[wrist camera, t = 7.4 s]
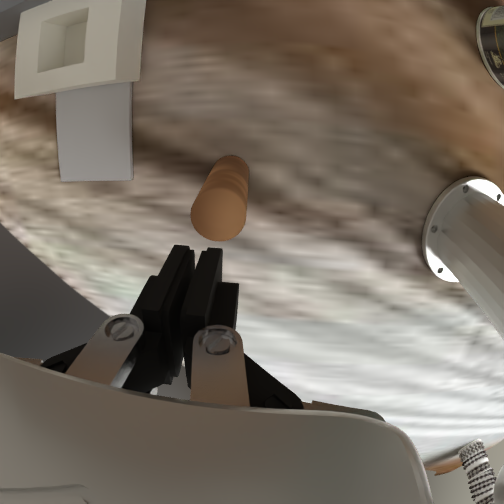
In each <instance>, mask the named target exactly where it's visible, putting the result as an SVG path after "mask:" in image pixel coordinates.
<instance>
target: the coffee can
mask: <svg viewBox="0 0 504 504" xmlns="http://www.w3.org/2000/svg"><path fill="white" fill-rule="evenodd" d="M476 37H477V44H478V48H479V51H480V54H481V57H482V60H483V62H484V64H485V66H486V68H487V70H488V72H489V73H490V75H491V76H492V77H493V79H494V80H495V81H496V82H497V83H498V84H499V85H500V86H501V87H502V88H503V89H504V6H498V7H488V8H486V9H484V10H483V11H482V12H481V13H480V15H479V17H478V20H477V25H476Z"/></svg>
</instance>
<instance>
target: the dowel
mask: <svg viewBox="0 0 504 504" xmlns="http://www.w3.org/2000/svg"><path fill="white" fill-rule="evenodd" d="M248 182H249V169H248V166H247V164H246V163H245V162H244V161H243V160H242V159H241V158H239V157H237V156H224V157H222V158H220V159H219V160H218V161H217V162H216V163H215V165H214V167H213V168H212V170H211V172H210V174H209V175H208V177H207V179H206V181H205V183H204V185H203V186H202V188H201V190H200V192H199V194H198V196H197V198H196V199H195V201H194V203H193V205H192V208H191V221H192V224H193V226H194V228H195V229H196V231H197V232H198V233H199V234H200V235H202V236H203V237H205V238H207V239H209V240H212V241H226V240H229V239H232V238H234V237H235V236H237V235H238V234H239V233H240V232H241V230H242V229H243V227H244V225H245V221H246V210H247V196H248Z"/></svg>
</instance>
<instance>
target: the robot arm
mask: <svg viewBox="0 0 504 504" xmlns="http://www.w3.org/2000/svg"><path fill="white" fill-rule="evenodd" d="M422 250H423V256H424V259H425V261H426V264H427V265H428V266H429V268H430V269H431V271H432V272H433V273H434V274H435V275H436V276H437V277H439V278H441V279H442V280H445V281H449V282H458V281H459V282H460V284H461V285H462V286H463V287H464V288H465V290H466V291H467V292H468V293H469V295H470V296H471V297H472V298H473V300H474V301H475V302H476V303H477V305H478V306H479V307H480V309H481V310H482V311H483V313H484V314H485V315H486V316H487V318H488V319H489V320H490V322H491V323H492V325H493V326H494V327H495V329H496V330H497V331H498V333H499V334H500V336H501V337H502V339H503V340H504V195H503V193H502V192H501V190H500V189H499V187H498V186H496V185H495V184H494V183H493V182H491V181H489V180H487V179H485V178H482V177H479V176H469V177H466V178H462V179H460V180H458V181H456V182H454V183H453V184H451V185H450V186H449V187H448V188H446V189H445V190H444V191H443V193H442V194H441V195H440V196H439V197H438V198H437V200H436V201H435V203H434V204H433V206H432V208H431V210H430V212H429V214H428V216H427V219H426V222H425V225H424V229H423V235H422ZM222 256H223V250H222V248H209V247H208V248H207V251H202V252H201V255H200V258H199V261H198V263H197V266H196V269H195V254H194V250H190V248H189V246H184V245H174V247H173V248H172V250H171V252H170V254H169V256H168V258H167V260H166V261H165V263H164V265H163V267H162V269H161V271H160V273H159V275H158V276H153V275H152V276H150V277H149V279H148V281H147V283H146V284H145V286H144V288H143V290H142V292H141V294H140V295H139V297H138V299H137V301H136V303H135V305H134V307H133V309H132V311H131V312H130V314H118V315H115V316H112V317H110V318H108V319H107V320H106V321H105V322H104V323H103V324H102V325H101V326H100V328H99V329H98V330H97V331H96V333H95V334H94V335H93V337H92V338H91V340H90V341H89V342H88V343H86V344H83V345H81V346H78V347H76V348H74V349H71V350H68V351H66V352H63V353H61V354H58V355H56V356H53V357H51V358H49V359H47V360H46V361H45V362H44V363H43V361H42V360H41V359H28V358H16V357H11V356H8V355H5V354H2V353H0V504H434V502H433V499H432V494H431V490H430V485H429V481H428V478H427V475H426V472H425V469H424V466H423V463H422V460H421V458H420V455H419V453H418V451H417V449H416V447H415V445H414V444H413V442H412V440H411V439H410V438H409V437H408V436H407V435H406V433H404V432H403V431H402V430H400V429H399V428H397V427H396V426H393V425H391V424H389V423H386V422H385V420H384V419H383V417H382V416H380V415H379V414H377V413H376V412H372V411H369V410H363V409H356V408H350V407H344V406H339V405H333V404H328V403H323V402H318V401H312V403H306V402H302V401H301V399H300V398H299V397H298V396H297V395H296V394H295V393H293V392H292V391H291V390H289V389H288V388H287V387H285V386H284V385H283V384H282V383H280V382H279V381H278V380H277V379H275V378H274V377H273V376H271V375H270V374H269V373H268V372H267V371H265V370H264V369H263V368H262V367H260V366H259V365H258V364H257V363H255V362H254V361H253V360H252V359H251V358H249V357H248V356H247V355H246V354H245V353H244V351H243V342H242V339H241V336H240V335H239V333H238V332H237V331H235V329H236V320H237V309H238V294H239V283H228V282H222ZM183 357H184V361H185V369H186V377H187V383H188V387H189V388H190V389H191V399H190V400H183V399H177V398H169V397H164V396H158V395H157V391H158V390H157V387H158V386H160V385H162V384H169V385H171V383H172V380H173V377H178V376H179V372H180V369H181V365H182V361H183ZM493 499H494V504H504V464H503V466H502V468H501V469H500V471H499V473H498V475H497V478H496V481H495V485H494V493H493Z"/></svg>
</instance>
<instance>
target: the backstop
mask: <svg viewBox="0 0 504 504" xmlns="http://www.w3.org/2000/svg"><path fill="white" fill-rule="evenodd" d="M49 1H52V0H0V42H1V41H3V40H5V39H7V38H10V37H12V36H14V35H17V34H18V29H19V22H20V15H21V13H22V12H24V11H27V10H29V9H31V8H34V7H36V6H39V5H41V4H44V3H47V2H49ZM56 125H57V143H58V156H59V167H60V177H61V182H67V181H131V180H132V179H133V157H132V82H123V83H114V84H106V85H99V86H92V87H85V88H79V89H73V90H67V91H62V92H57V93H56Z"/></svg>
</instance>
